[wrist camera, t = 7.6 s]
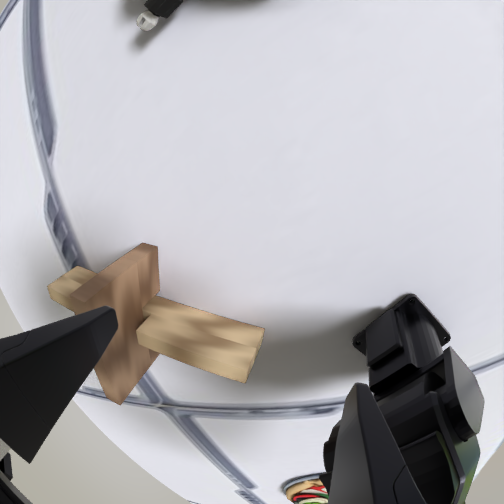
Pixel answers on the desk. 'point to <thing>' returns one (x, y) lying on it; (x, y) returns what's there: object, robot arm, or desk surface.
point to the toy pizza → (307, 491)
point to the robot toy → (156, 12)
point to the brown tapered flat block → (123, 317)
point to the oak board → (183, 331)
